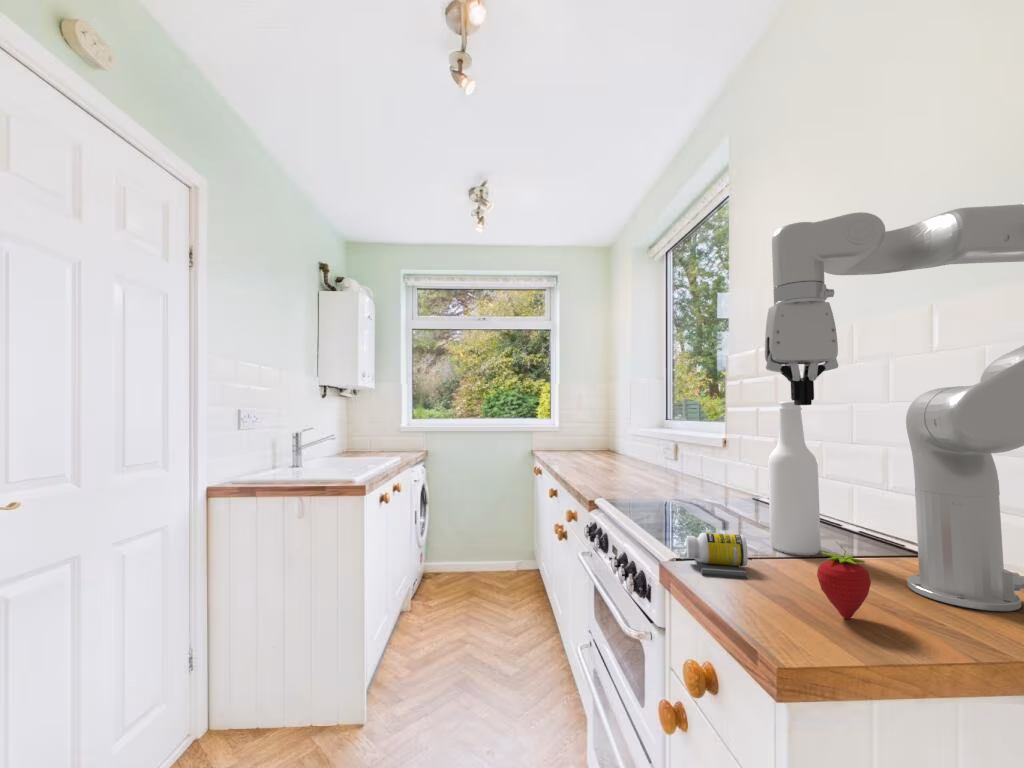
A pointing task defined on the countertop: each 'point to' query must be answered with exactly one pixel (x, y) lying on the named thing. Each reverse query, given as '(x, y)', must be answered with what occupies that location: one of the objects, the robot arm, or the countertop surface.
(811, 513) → the alcohol
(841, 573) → the strawberry
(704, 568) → the tray
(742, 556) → the supplement bottle
